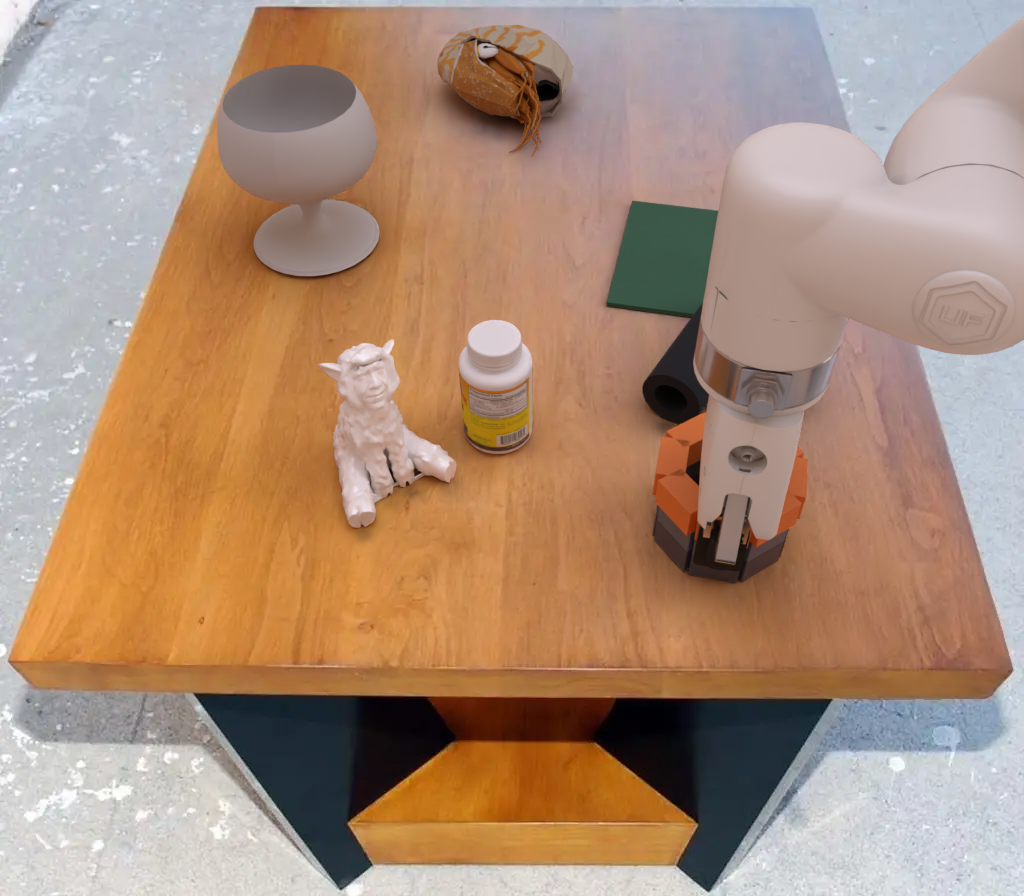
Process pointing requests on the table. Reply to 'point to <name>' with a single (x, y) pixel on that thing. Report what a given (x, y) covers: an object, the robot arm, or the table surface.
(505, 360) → the supplement bottle
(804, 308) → the robot arm
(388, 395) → the white creature statuette
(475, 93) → the nautilus
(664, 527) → the ring stack
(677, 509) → the orange ring
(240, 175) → the chalice
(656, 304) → the green mat
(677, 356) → the pipe connector
